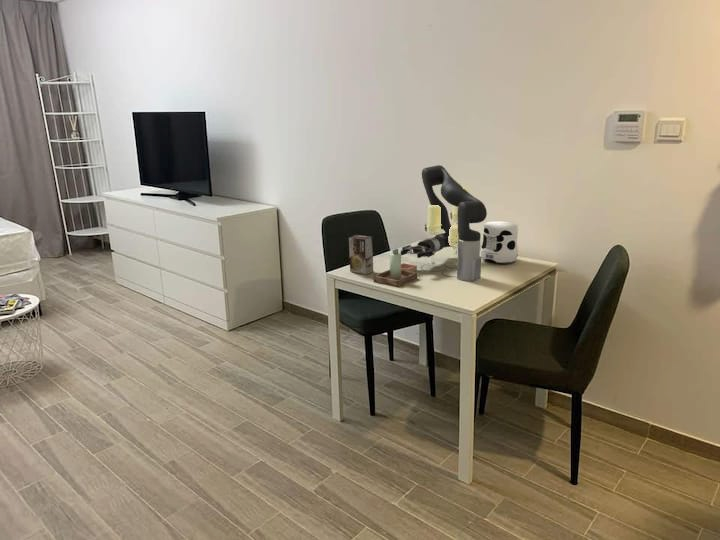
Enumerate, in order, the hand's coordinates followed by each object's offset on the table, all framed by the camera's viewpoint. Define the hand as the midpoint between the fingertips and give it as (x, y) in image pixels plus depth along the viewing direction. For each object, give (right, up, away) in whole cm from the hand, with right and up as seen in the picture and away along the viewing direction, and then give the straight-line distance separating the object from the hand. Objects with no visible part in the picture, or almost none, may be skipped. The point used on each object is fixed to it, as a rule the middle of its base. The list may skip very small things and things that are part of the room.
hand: (409, 254), depth 238 cm
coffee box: (-21, -8, +8) cm, 24 cm away
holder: (-1, -7, +7) cm, 10 cm away
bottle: (-7, -11, -6) cm, 14 cm away
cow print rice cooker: (+44, -3, +19) cm, 48 cm away
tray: (-7, -11, -6) cm, 14 cm away
